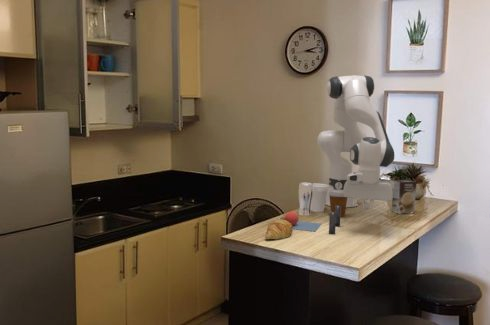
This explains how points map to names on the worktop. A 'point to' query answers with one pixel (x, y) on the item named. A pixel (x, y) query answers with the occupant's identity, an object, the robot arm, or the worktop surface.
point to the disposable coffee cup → (337, 200)
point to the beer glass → (305, 198)
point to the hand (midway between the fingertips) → (366, 209)
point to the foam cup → (319, 197)
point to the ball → (292, 218)
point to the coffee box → (403, 196)
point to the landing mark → (306, 226)
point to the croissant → (278, 229)
